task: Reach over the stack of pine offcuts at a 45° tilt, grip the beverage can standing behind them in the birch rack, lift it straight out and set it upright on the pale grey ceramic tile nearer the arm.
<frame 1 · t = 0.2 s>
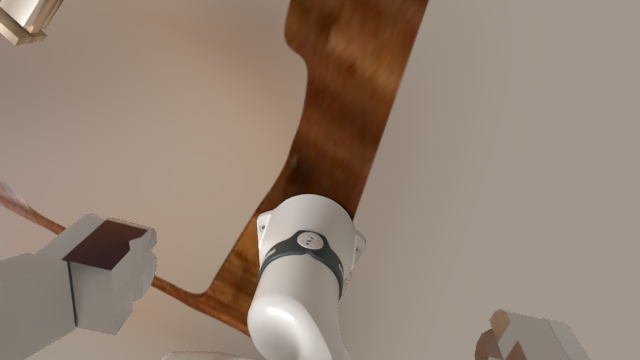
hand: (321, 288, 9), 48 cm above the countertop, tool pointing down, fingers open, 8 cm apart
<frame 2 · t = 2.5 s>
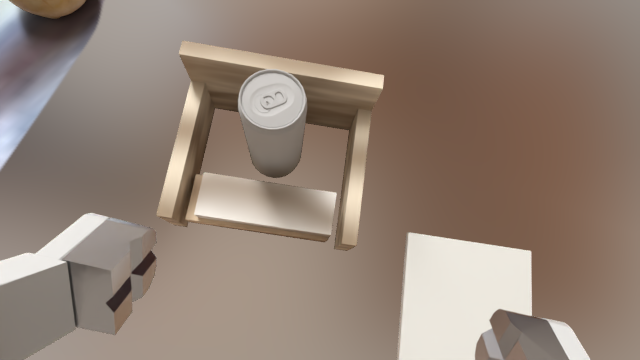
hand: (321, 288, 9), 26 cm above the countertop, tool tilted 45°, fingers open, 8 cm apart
offcut stack: (266, 210, 36), on the countertop
ceramic tile: (465, 307, 35), on the countertop
birch rack: (276, 155, 37), on the countertop
beverage can: (276, 156, 38), resting in birch rack
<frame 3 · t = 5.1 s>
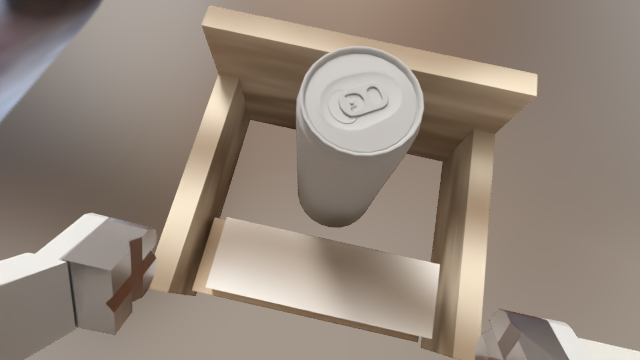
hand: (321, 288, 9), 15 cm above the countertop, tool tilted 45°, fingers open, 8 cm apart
offcut stack: (316, 277, 23), on the countertop
birch rack: (334, 193, 25), on the countertop
beverage can: (334, 194, 25), resting in birch rack
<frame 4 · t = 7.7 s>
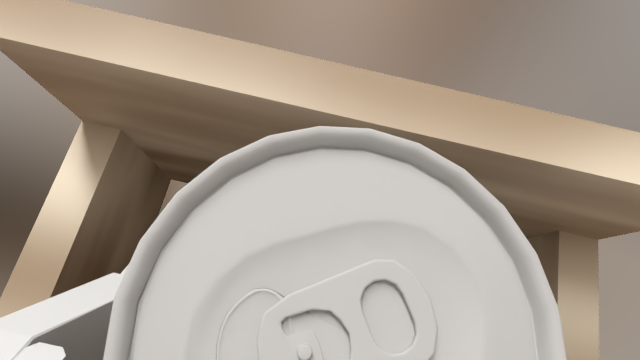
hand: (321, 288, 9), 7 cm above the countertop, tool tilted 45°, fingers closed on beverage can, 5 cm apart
birch rack: (305, 309, 15), on the countertop
beverage can: (305, 309, 15), resting in birch rack, touching gripper
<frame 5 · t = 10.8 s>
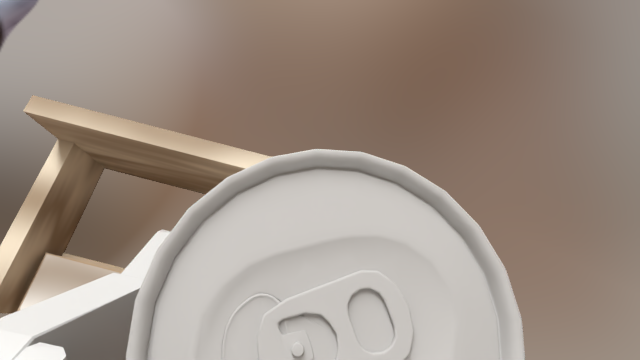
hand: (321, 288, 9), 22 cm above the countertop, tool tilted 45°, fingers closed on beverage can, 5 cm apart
offcut stack: (138, 300, 29), on the countertop
birch rack: (164, 232, 31), on the countertop
beverage can: (306, 297, 16), point 15 cm above the countertop, touching gripper
when the fingers open (8 cm above the countertop, at t = 14.3 s): beverage can moves 1 cm, resting on ceramic tile.
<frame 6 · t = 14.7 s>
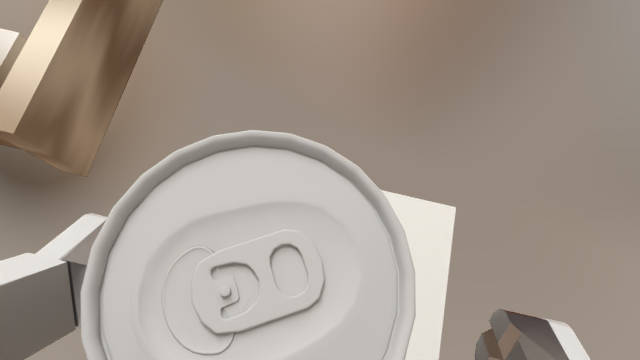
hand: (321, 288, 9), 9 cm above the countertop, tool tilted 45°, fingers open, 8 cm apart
ceramic tile: (305, 307, 17), on the countertop
birch rack: (2, 5, 21), on the countertop
beverage can: (281, 294, 17), resting on ceramic tile
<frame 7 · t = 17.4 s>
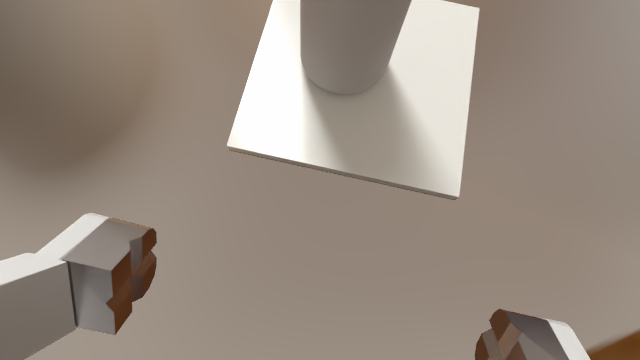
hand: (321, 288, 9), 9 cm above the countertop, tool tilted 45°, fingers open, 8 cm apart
ceramic tile: (361, 77, 22), on the countertop
beverage can: (343, 64, 22), resting on ceramic tile
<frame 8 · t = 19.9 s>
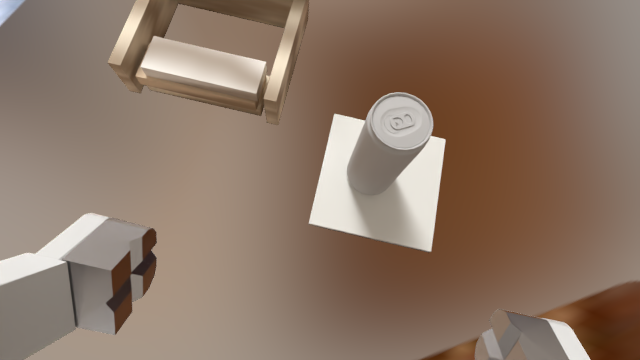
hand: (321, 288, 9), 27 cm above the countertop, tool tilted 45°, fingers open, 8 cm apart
offcut stack: (211, 86, 41), on the countertop
ceramic tile: (379, 181, 39), on the countertop
birch rack: (226, 44, 43), on the countertop
beverage can: (369, 174, 39), resting on ceramic tile
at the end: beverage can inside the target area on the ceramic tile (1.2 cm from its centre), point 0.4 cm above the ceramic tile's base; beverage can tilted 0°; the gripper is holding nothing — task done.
